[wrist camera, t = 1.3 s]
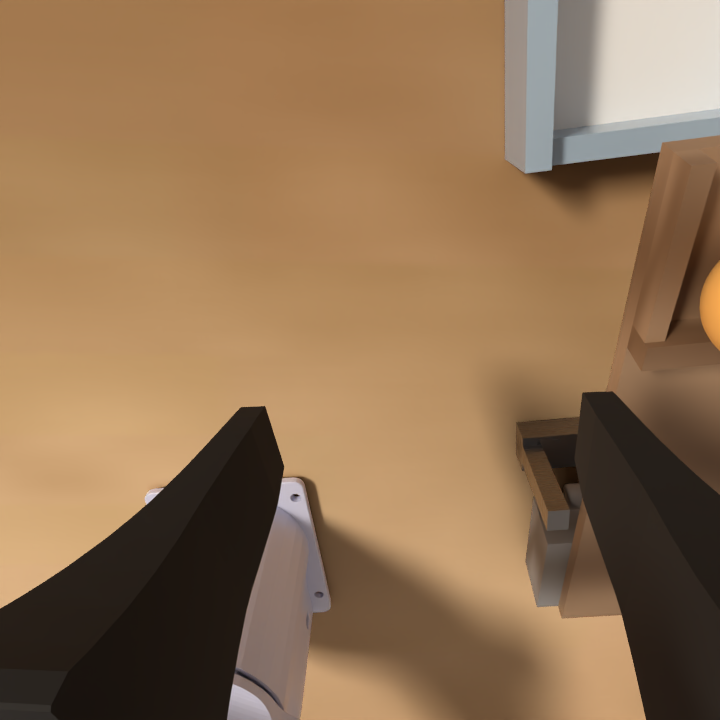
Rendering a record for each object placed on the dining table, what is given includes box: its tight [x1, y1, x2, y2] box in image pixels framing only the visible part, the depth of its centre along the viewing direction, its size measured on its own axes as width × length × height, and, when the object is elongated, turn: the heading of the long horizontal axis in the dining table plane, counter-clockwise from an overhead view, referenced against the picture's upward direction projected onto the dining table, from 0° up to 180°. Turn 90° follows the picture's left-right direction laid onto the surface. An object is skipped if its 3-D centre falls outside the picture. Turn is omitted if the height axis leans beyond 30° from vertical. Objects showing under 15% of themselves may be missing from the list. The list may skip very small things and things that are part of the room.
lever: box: [526, 135, 720, 618], centre depth 19 cm, size 22×7×4 cm, turn 7°
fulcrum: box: [516, 417, 580, 531], centre depth 22 cm, size 2×8×5 cm, turn 97°
